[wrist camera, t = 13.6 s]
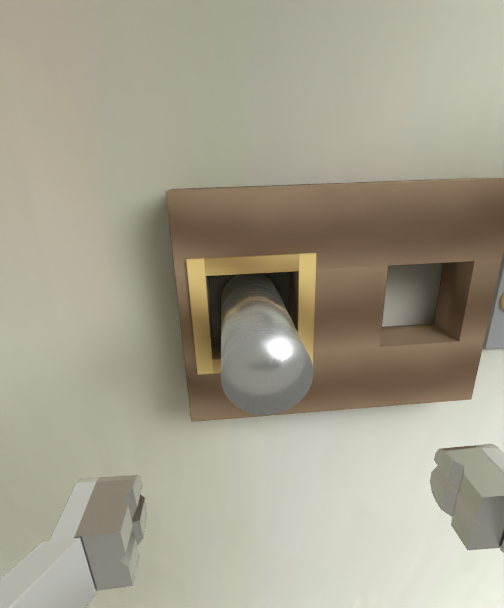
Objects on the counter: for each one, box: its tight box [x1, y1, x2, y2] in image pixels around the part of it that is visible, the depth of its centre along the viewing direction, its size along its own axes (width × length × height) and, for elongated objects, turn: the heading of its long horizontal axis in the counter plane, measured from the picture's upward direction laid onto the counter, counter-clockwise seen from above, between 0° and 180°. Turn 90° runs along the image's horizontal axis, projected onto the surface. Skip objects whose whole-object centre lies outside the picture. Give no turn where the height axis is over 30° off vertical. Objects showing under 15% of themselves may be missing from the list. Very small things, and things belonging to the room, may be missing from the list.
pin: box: [221, 273, 313, 415], centre depth 20 cm, size 4×4×10 cm
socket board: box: [166, 178, 504, 422], centre depth 23 cm, size 15×20×3 cm
